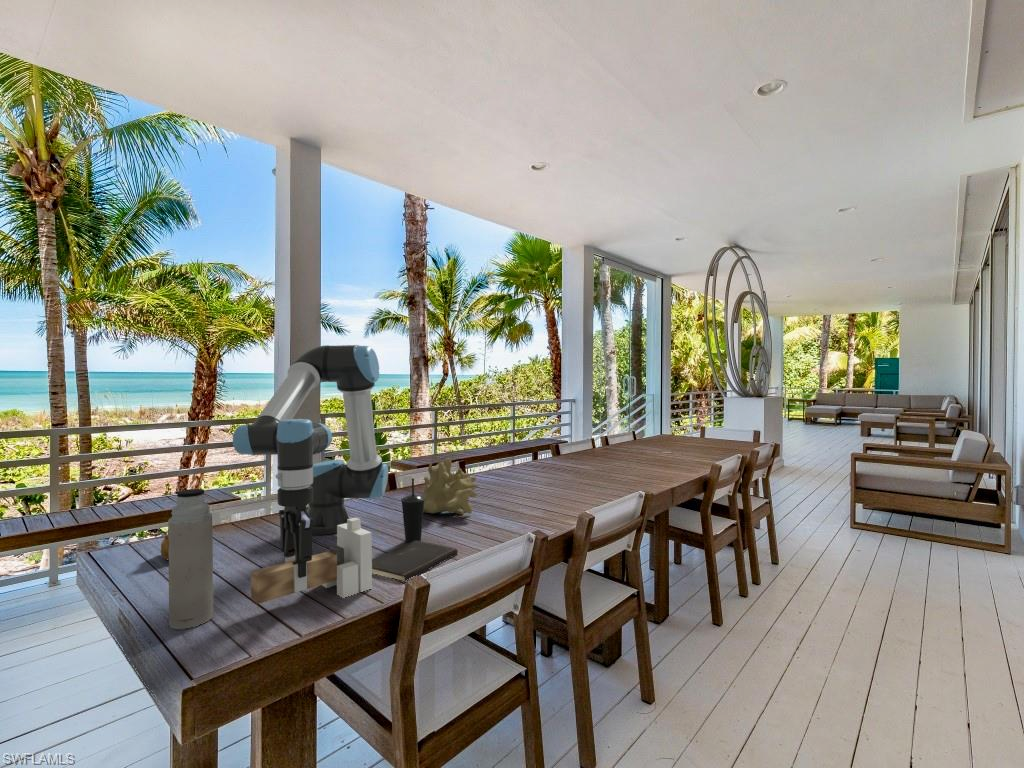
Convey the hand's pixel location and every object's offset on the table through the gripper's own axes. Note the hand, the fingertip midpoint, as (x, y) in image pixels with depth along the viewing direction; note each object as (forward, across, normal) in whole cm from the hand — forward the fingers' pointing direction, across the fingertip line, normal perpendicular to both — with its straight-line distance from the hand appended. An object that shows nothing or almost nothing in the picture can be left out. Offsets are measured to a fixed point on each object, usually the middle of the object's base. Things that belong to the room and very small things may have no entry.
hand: (296, 587), depth 114 cm
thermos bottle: (+4, -8, -19) cm, 21 cm away
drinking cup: (+4, -17, +44) cm, 47 cm away
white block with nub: (+4, 0, +12) cm, 13 cm away
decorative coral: (+4, -34, +72) cm, 80 cm away
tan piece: (0, 0, 0) cm, 0 cm away
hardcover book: (+4, -2, +33) cm, 33 cm away
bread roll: (+4, -56, -11) cm, 57 cm away
